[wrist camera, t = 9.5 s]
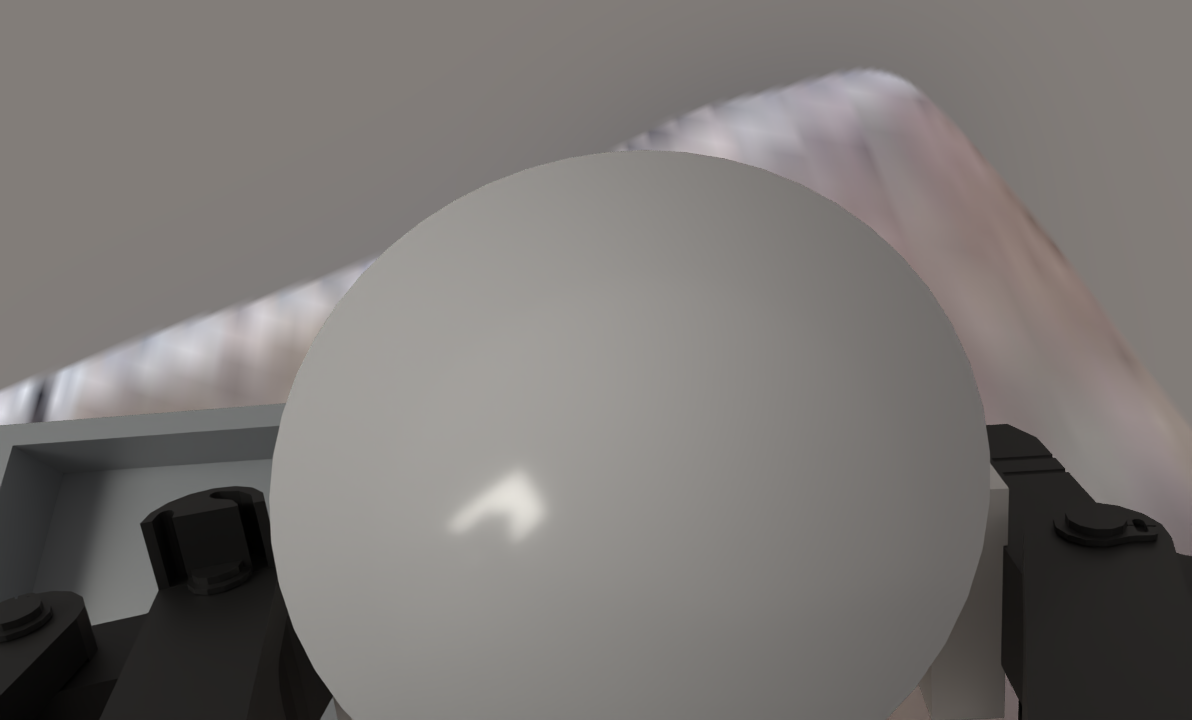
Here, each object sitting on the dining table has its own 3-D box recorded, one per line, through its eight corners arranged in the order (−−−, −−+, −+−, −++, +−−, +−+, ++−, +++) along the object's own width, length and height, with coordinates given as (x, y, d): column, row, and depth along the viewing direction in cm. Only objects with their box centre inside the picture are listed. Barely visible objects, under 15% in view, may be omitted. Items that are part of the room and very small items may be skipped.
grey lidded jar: (525, 845, 17) (214, 838, 7) (532, 516, 19) (315, 182, 10) (876, 840, 16) (1077, 824, 6) (830, 499, 19) (919, 119, 9)
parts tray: (-77, 985, 28) (-179, 1001, 25) (63, 462, 36) (-3, 425, 33) (396, 987, 26) (348, 1005, 23) (436, 435, 34) (404, 394, 31)
